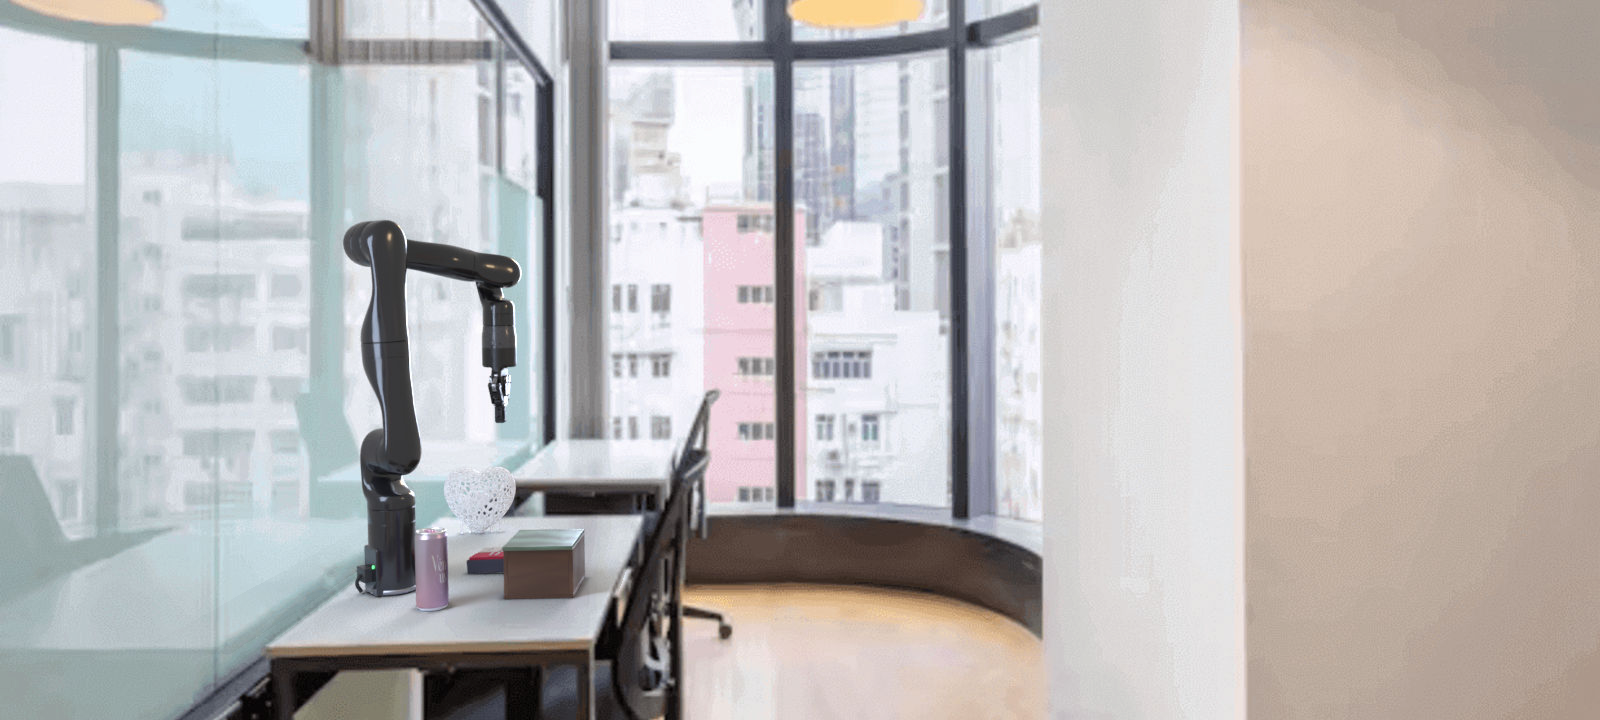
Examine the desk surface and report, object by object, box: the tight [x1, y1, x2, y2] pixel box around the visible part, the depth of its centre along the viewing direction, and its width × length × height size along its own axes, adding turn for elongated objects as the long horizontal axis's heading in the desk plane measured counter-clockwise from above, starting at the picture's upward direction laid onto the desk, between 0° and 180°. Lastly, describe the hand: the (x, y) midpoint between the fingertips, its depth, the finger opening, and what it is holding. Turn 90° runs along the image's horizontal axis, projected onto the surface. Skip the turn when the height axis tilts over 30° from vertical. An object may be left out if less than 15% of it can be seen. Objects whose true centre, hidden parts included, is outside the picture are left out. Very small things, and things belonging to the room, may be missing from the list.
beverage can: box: [415, 527, 450, 612], centre depth 206 cm, size 6×6×15 cm
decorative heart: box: [443, 466, 517, 535], centre depth 275 cm, size 18×11×17 cm, turn 94°
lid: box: [501, 528, 585, 551], centre depth 219 cm, size 16×14×1 cm
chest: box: [503, 533, 586, 600], centre depth 220 cm, size 16×14×10 cm
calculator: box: [466, 546, 504, 575], centre depth 237 cm, size 11×4×15 cm
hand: (500, 422), depth 242 cm, fingers closed
